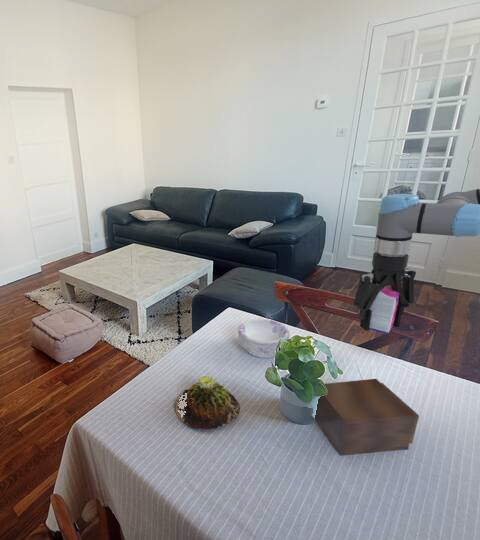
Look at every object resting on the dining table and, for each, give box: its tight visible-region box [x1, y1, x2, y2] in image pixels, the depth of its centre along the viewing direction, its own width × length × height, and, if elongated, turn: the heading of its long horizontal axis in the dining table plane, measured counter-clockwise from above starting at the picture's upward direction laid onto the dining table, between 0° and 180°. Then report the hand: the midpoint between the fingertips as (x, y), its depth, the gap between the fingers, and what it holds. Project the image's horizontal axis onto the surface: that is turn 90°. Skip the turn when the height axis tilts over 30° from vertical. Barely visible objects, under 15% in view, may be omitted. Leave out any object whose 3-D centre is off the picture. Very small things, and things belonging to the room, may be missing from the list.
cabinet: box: [314, 378, 416, 456], centre depth 77 cm, size 15×12×10 cm
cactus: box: [174, 375, 241, 430], centre depth 89 cm, size 17×16×10 cm
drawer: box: [380, 382, 420, 445], centre depth 77 cm, size 15×10×8 cm
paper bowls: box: [238, 318, 290, 359], centre depth 110 cm, size 15×15×8 cm
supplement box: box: [369, 287, 399, 335], centre depth 97 cm, size 6×6×12 cm
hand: (379, 326), depth 98 cm, fingers closed on supplement box, 8 cm apart
